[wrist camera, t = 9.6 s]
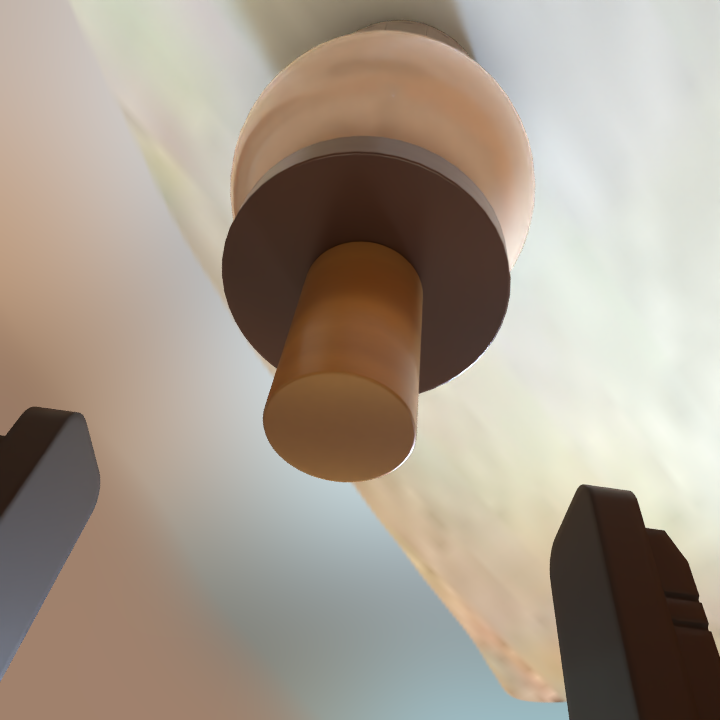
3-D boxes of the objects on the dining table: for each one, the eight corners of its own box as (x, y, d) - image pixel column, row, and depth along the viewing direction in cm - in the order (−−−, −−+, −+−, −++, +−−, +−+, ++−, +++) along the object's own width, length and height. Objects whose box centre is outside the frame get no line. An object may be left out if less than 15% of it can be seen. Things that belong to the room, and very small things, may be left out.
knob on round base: (225, 117, 14) (125, 241, 10) (539, 154, 14) (584, 297, 9) (237, 360, 18) (172, 522, 14) (477, 390, 18) (488, 564, 14)
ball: (267, -13, 20) (170, 55, 13) (551, 19, 20) (606, 106, 13) (268, 241, 26) (201, 384, 19) (491, 269, 26) (506, 425, 19)
